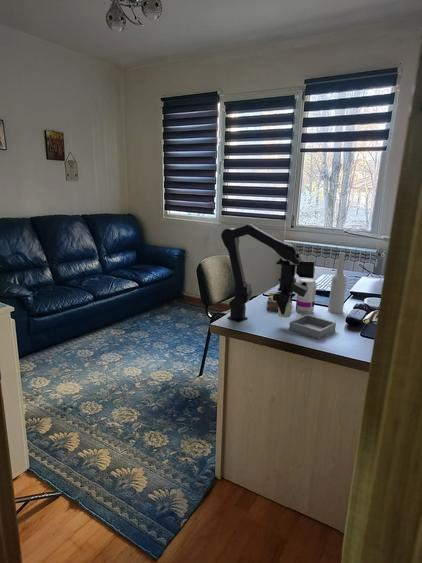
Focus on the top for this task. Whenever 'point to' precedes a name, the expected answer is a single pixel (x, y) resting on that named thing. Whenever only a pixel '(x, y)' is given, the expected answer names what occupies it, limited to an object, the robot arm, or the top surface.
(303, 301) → the supplement can
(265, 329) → the top surface
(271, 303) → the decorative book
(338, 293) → the bottle
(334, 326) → the bin
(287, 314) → the cream yellow cylinder
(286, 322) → the top surface
